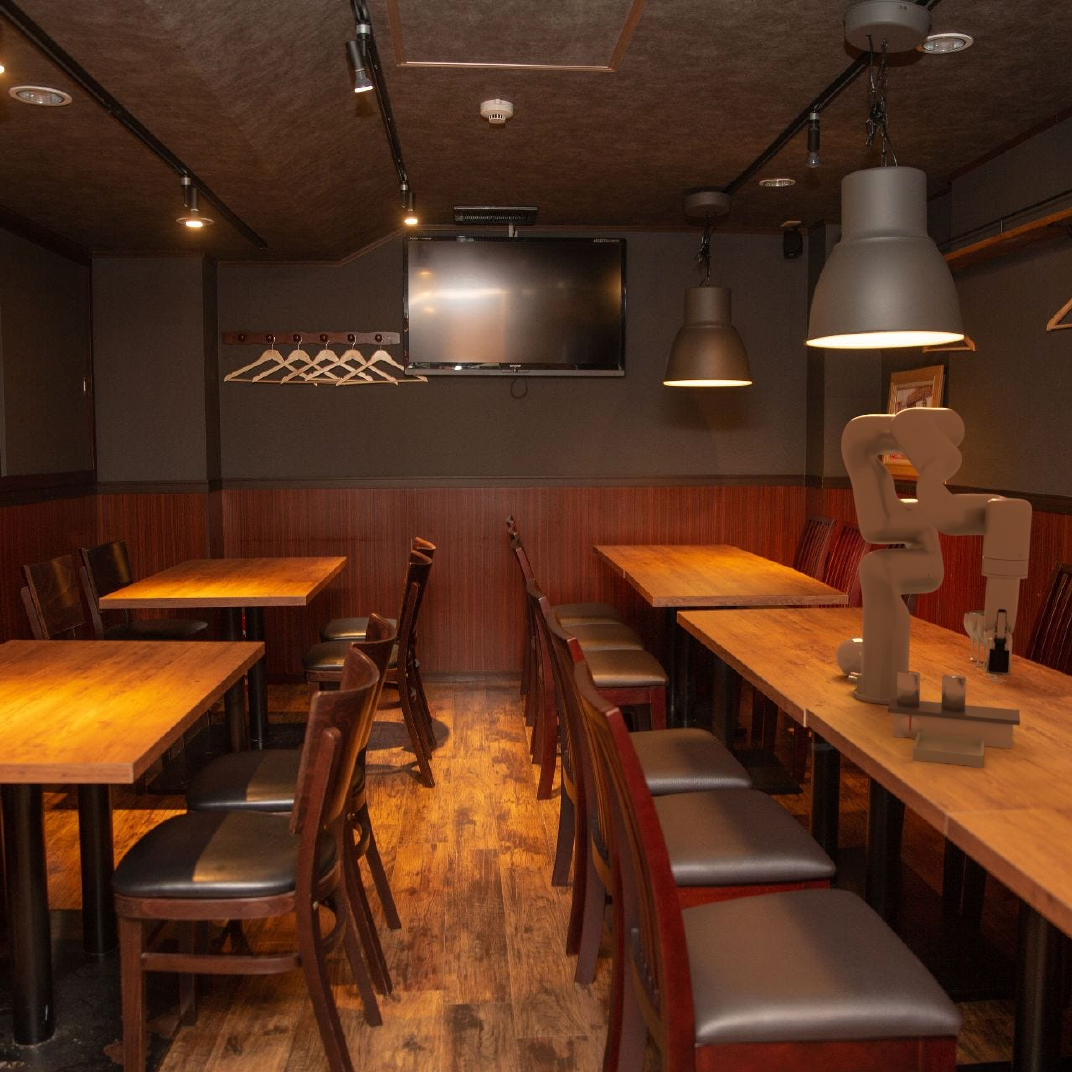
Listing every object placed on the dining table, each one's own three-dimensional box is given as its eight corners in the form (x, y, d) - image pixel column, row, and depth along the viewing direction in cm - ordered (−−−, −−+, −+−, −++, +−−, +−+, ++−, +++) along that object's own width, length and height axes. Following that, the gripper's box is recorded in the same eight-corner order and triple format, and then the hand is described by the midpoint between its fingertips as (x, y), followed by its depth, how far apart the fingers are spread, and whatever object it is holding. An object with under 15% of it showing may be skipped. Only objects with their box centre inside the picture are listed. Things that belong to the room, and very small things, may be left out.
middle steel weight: (936, 708, 193) (937, 676, 192) (949, 705, 195) (950, 673, 194) (956, 712, 189) (957, 680, 189) (969, 709, 192) (970, 677, 191)
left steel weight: (892, 704, 196) (892, 672, 195) (905, 701, 198) (906, 669, 198) (910, 708, 193) (911, 676, 192) (923, 705, 195) (924, 673, 194)
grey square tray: (912, 759, 179) (912, 748, 179) (917, 743, 189) (917, 732, 189) (983, 767, 174) (983, 756, 174) (984, 750, 184) (984, 739, 184)
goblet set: (958, 658, 267) (960, 606, 266) (982, 659, 266) (984, 607, 265) (986, 682, 239) (988, 624, 238) (1013, 683, 238) (1016, 625, 237)
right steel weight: (981, 671, 190) (983, 639, 189) (993, 668, 192) (995, 636, 191) (1002, 676, 186) (1004, 643, 186) (1014, 673, 189) (1016, 640, 188)
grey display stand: (886, 736, 193) (887, 708, 193) (891, 725, 201) (891, 698, 200) (1018, 750, 184) (1019, 720, 184) (1018, 738, 192) (1019, 710, 192)
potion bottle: (830, 680, 246) (897, 691, 244) (838, 663, 238) (906, 674, 236) (833, 645, 251) (898, 654, 249) (840, 627, 243) (907, 637, 240)
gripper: (982, 560, 196) (976, 657, 198) (980, 572, 181) (974, 677, 183) (1027, 563, 193) (1020, 661, 195) (1028, 575, 178) (1021, 682, 180)
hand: (998, 667), depth 189 cm, fingers closed on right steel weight, 4 cm apart
